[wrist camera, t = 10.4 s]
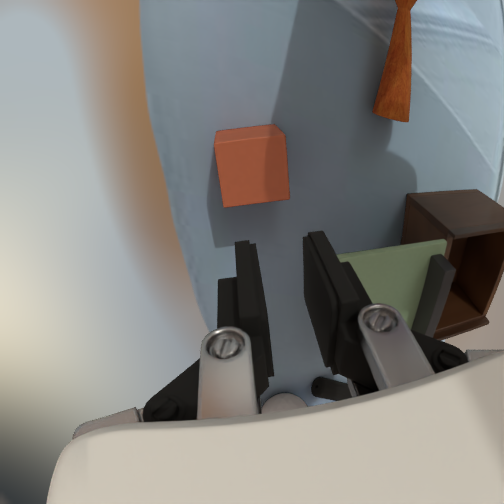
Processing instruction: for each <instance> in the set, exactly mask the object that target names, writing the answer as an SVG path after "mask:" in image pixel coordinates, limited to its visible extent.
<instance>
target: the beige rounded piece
mask: <svg viewBox="0 0 504 504" xmlns="http://www.w3.org/2000/svg"><path fill="white" fill-rule="evenodd" d="M304 407H308V406H307V405H306V403H305V402H304V401H303V400H302V399H301V398H299V397H298V396H296V395H293V394H289V393H281V394H277V395H275V396H273V397H271V398H270V399H268V400H267V401H266V403H265V404H264V405H263V407H262V414H265V413H273V412H280V411H286V410H292V409H299V408H304Z"/></svg>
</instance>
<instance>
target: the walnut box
mask: <svg viewBox="0 0 504 504" xmlns="http://www.w3.org/2000/svg"><path fill="white" fill-rule="evenodd" d="M439 239H445V240H446V241H447V245H446V250H445V254H444V257H445V258H446V259H447V260H448V261H449V262H450V264H451V265H452V266H453V267H454V268H455V269H456V271H455V275H454V278H453V281H452V284H451V288H450V291H449V294H448V297H447V300H446V303H445V306H444V309H443V311H442V314H441V317H440V320H439V322H438V325H437V328H436V330H435V333H434V335H433V338H435V339H437V340H440V341H441V340H444V339H447V338H450V337H453V336H456V335H459V334H462V333H465V332H468V331H471V330H473V329H476V328H479V327H482V326H485V325H487V324H489V320H488V319H487V318H486V317H485V316H486V314H487V312H488V309H489V307H490V305H491V302H492V300H493V298H494V295H495V293H496V290H497V287H498V285H499V282H500V280H501V277H502V274H503V272H504V208H503V207H502V206H501V205H499V204H498V203H496V202H495V201H494V200H492V199H491V198H489V197H488V196H486V195H485V194H483V193H482V192H480V191H479V190H477V189H473V190H455V191H439V192H424V193H411V194H407V199H406V208H405V217H404V225H403V232H402V239H401V245H406V244H413V243H419V242H426V241H432V240H439Z"/></svg>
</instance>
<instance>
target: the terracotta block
mask: <svg viewBox="0 0 504 504" xmlns="http://www.w3.org/2000/svg"><path fill="white" fill-rule="evenodd" d="M214 149H215V156H216V162H217V169H218V175H219V181H220V188H221V194H222V200H223V207H224V208H226V207H233V206H241V205H248V204H256V203H264V202H272V201H280V200H289V199H290V191H289V176H288V162H287V148H286V136H285V134H284V133H283V132H282V131H281V130H280V129H279V128H278V127H277V126H276V125H275V124H272V125H262V126H253V127H245V128H237V129H229V130H222V131H216V135H215V140H214Z"/></svg>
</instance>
